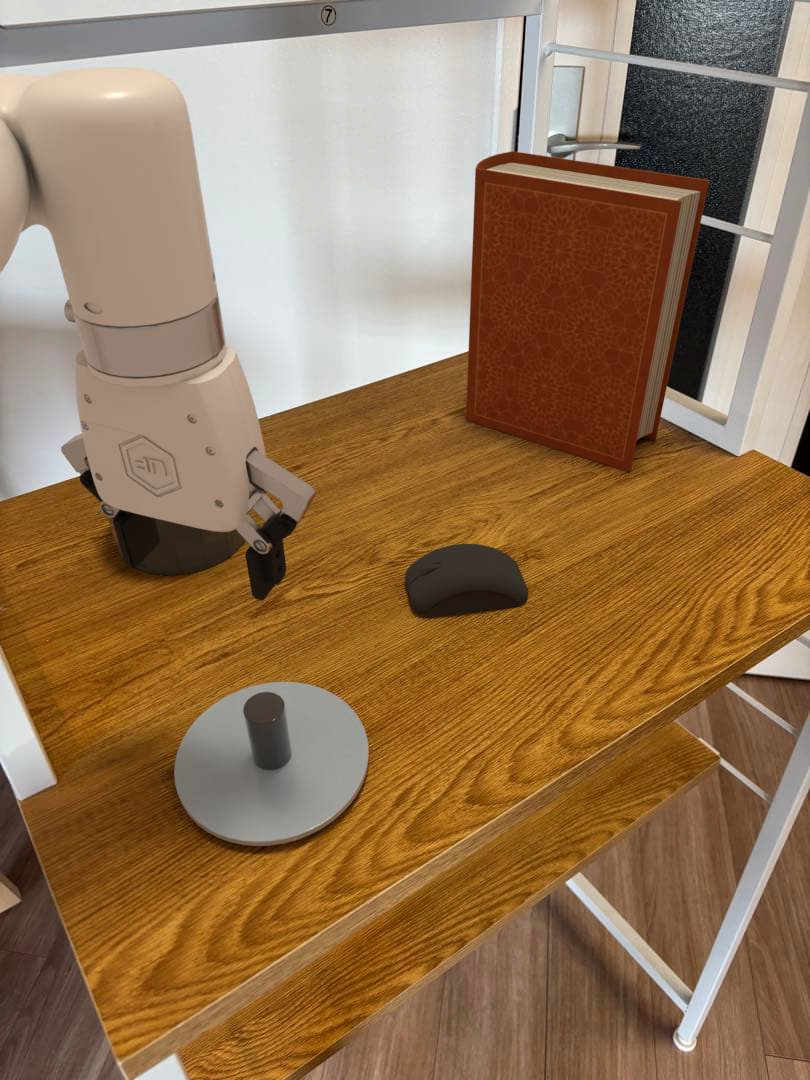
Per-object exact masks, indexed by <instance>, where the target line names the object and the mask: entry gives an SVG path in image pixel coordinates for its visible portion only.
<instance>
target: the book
mask: <svg viewBox="0 0 810 1080" xmlns="http://www.w3.org/2000/svg"><path fill="white" fill-rule="evenodd" d="M474 170H475V171H474V197H473V198H474V200H473V203H474V204H473V226H472V246H471V247H472V250H471V251H472V252H471V273H470V274H471V275H470V276H471V277H470V302H469V304H470V306H469V328H468V329H469V330H468V354H467V377H466V378H467V380H466V402H465V403H466V407H465V421H467V422H470V423H473V424H476V425H480V426H483V427H486V428H489V429H491V430H495V431H499V432H500V433H501V432H502V433H505V434H508V435H512V436H514V437H518V438H520V439H523V440H526V441H530V442H533V443H537V444H539V445H542V446H546V447H550V448H553V449H555V450H559V451H561V452H565V453H568V454H571V455H575V456H578V457H581V458H584V459H587V460H590V461H592V462H593V461H594V462H596V463H600V464H603V465H606V466H609V467H612V468H616V469H619V470H622V471H624V472H628V473H631V472H632V467H633V463H634V457H635V452H636V446H637V441H638V440H640V439H641V438H643V439H646V440H649V441H653V442H656V440H657V437H658V431H659V426H660V422H661V416H662V412H663V407H664V403H665V398H666V392H667V387H668V384H669V378H670V373H671V368H672V363H673V358H674V354H675V349H676V344H677V339H678V334H679V329H680V324H681V319H682V315H683V310H684V305H685V301H686V296H687V290H688V287H689V286H688V285H689V282H690V281H689V280H690V276H691V272H692V268H693V267H692V266H693V261H694V257H695V252H696V247H697V242H698V238H699V232H700V227H701V223H702V219H703V212H704V209H705V203H706V200H707V199H706V198H707V194H708V189H709V184H710V179H704V178H697V177H692V176H691V177H690V176H683V175H677V174H671V173H663V172H657V171H649V170H643V169H637V168H630V167H623V166H616V165H610V164H604V163H603V164H602V163H595V162H588V161H582V160H577V159H568V158H562V157H555V156H548V155H541V154H536V153H535V154H533V153H528V152H521V151H513V150H512V151H505V152H501V153H497V154H494V155H490V156H488V157H486V158H484V159H481V160H480V161H479V162H478V163H477V164H476V166H475V169H474Z"/></svg>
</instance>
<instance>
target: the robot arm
mask: <svg viewBox="0 0 810 1080" xmlns="http://www.w3.org/2000/svg"><path fill="white" fill-rule="evenodd" d="M200 179H201V178H200V173H199V167H198V160H197V154H196V148H195V141H194V135H193V130H192V123H191V118H190V113H189V109H188V105H187V102H186V99H185V97H184V95H183V92H182V91H181V89H180V88H179V87H178V86H177V84H176V83H175V81H173V79H171V78H169V77H168V76H167V75H165V74H163V73H161V72H157V71H154V70H151V69H147V68H139V67H124V66H122V67H121V66H107V67H106V66H105V67H90V68H80V69H74V70H73V69H72V70H66V71H62V72H57V73H52V74H49V75H45V76H43V75H42V76H41V75H26V74H25V75H24V74H9V73H0V274H1V273H2V272H3V271H4V270H5V267H6V266H7V265H8V263H9V261H10V259H11V257H12V255H13V253H14V251H15V248H16V247H17V245H18V241H19V239H20V236H21V234H22V233H23V232H25V231H27V229H29V228H30V227H32V226H36V225H39V226H42V227H44V228H46V229H47V230H48V231H49V233H50V235H51V238H52V241H53V245H54V247H55V252H56V255H57V259H58V262H59V266H60V270H61V273H62V277H63V281H64V284H65V288H66V292H67V295H68V298H69V299H68V300H66V301H65V304H64V307H63V312H64V314H63V315H64V316H65V318H66V320H67V321H68V322H70V323H73V324H75V325H76V328H77V332H78V335H79V339H80V343H81V346H82V350H80V351H79V352H78V353H77V354H76V356H75V367H74V368H75V372H74V376H75V378H74V379H75V394H76V404H77V412H78V417H79V424H80V429H81V433H80V434H76V435H75V436H73V437H72V438H71V439H69V440H68V441H67V442H65V443H64V444H63V445H62V446H61V447H60V451H61V453H62V455H63V456H64V458H65V459H66V460H67V462H68V463H69V464H70V466H71V467H72V468H73V470H74V471H75V472H76V474H77V473H79V475H80V476H79V481H80V483H81V485H82V486H83V487H84V488H85V489H86V490H87V491H88V492H90V493H91V495H93V496H94V497H95V498H96V499H97V500H98V501H99V502H100V503H99V510H100V511H101V513H102V514H103V515H104V516H105V517H107V518H108V517H109V518H113V524H114V528H115V531H116V534H117V538H118V541H119V545H120V548H121V551H122V555H123V558H124V559H123V558H122V559H123V561H124V565H125V566H126V567H130V568H134V567H136V566H138V565H139V564H140V563H141V562H142V561H143V560H144V559H145V558H146V557H147V556H148V555H149V554H150V553H151V552H152V551H153V550H154V548H155V547H156V546H157V545H158V544H159V542H160V538H159V534H158V530H157V526H156V522H155V518H156V519H160V520H165V521H169V522H173V523H178V524H182V525H186V526H191V527H195V528H200V529H204V530H209V531H215V532H229V531H232V530H235V529H236V530H237V531H238V532H239V533H240V535H241V536H242V537H243V538H244V539H245V541H246V543H248V545H249V547H248V548H247V550H246V551H245V562H246V568H247V575H248V578H249V584H250V590H251V596H252V597H253V598H254V599H255V600H259V601H262V602H263V601H265V599H266V598H267V596H268V595H269V594H270V593H271V591H272V590H273V589H274V587H275V586H276V585H280V583H282V581H283V580H284V578H285V576H286V574H287V573H286V572H287V562H286V561H287V560H286V554H285V553H286V552H285V547H284V539H286V538H287V537H289V536H290V535H291V534H292V533H293V532H294V530H295V529H296V528H297V527H298V525H299V524H300V523H301V522H302V520H303V519H304V518H305V515H306V513H307V511H308V510H309V508H310V506H311V504H312V503H313V500H314V499H315V497H316V489H315V488H314V486H312V485H310V484H309V483H308V482H306V481H305V480H303V479H301V478H300V477H298V475H295V474H293V473H292V472H291V471H289V470H288V469H286V468H284V467H283V466H282V465H280V464H278V463H277V462H275V461H274V460H272V459H271V458H269V457H267V454H266V449H265V443H264V439H263V435H262V429H261V426H260V425H261V424H260V421H259V417H258V413H257V409H256V405H255V402H254V398H253V395H252V392H251V388H250V386H249V383H248V380H247V376H246V374H245V371H244V369H243V367H242V363H241V361H240V358H239V356H238V354H237V351H236V349H234V348H231V347H229V346H227V339H226V334H225V329H224V328H225V327H224V323H223V316H222V310H221V304H220V303H221V302H220V297H219V292H218V286H217V281H216V279H217V278H216V274H215V267H214V259H213V254H212V248H211V242H210V236H209V230H208V224H207V217H206V212H205V206H204V205H205V204H204V199H203V193H202V187H201V180H200ZM267 493H268V494H270V495H272V497H275V498H276V499H278V500H279V501H280V503H281V505H282V508H281V510H280V508H279V507H278V506H277V505H276V503H274V501H272V499H271V498H270V497H269V496H268V495H267ZM251 510H254V512H255V513H256V514H257V515H258V516H259V517H260V518H261V520H262V521H263V522H264V523H263V524H262V526H260V525H259V524H258V523H257V522H256V521H255V519H253V517H252V516H251V515H250V514H249V513H250V512H251Z"/></svg>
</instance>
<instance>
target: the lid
mask: <svg viewBox="0 0 810 1080" xmlns="http://www.w3.org/2000/svg"><path fill="white" fill-rule="evenodd" d="M369 751H370V746H369V740H368V735H367V733H366V728H365V726H364V725H363V723H362V720H361V719H360V718H359V716H358V714H357V713H356V711H354V709H353V708H352V707H351V706H350V705H349V704H348V703H347V702H346V701H344V699H342V698H341V697H339V696H338V695H336V694H335V693H333V692H331V691H329V690H326V689H324V688H322V687H319V686H316V685H312V684H309V683H303V682H299V681H298V682H295V681H272V682H263V683H259V684H255V685H250V686H248V687H245V688H242V689H239V690H237V691H235V692H232V693H230V694H228V695H227V696H225V697H223V698H220V699H219V700H218V701H216V702H215V703H214V704H211V706H209V707H208V708H207V709H206V710H205V711H203V712H202V713H201V714H200V715H199V716H198V717H197V719H195V721H193V723H192V724H191V725H190V727H189V728H188V730H187V731H186V733H185V734H184V736H183V738H182V740H181V742H180V744H179V747H178V749H177V752H176V756H175V761H174V768H173V770H174V771H173V777H174V785H175V788H176V793H177V796H178V799H179V801H180V803H181V805H182V808H183V809H184V811H185V812H186V813H187V815H188V816H189V818H190V819H191V820H192V821H193V822H194V823H195V824H196V825H197V826H199V827H200V828H201V829H202V830H204V831H205V832H207V833H209V835H212V836H214V837H216V838H218V839H221V840H223V841H226V842H228V843H233V844H238V845H241V846H252V847H266V846H277V845H284V844H287V843H291V842H294V841H298V840H301V839H303V838H306V837H308V836H310V835H313V834H315V833H316V832H319V831H320V830H322V829H323V828H325V827H326V826H328V825H329V824H331V823H332V822H334V821H335V820H336V819H337V818H338V817H340V816H341V815H342V814H343V813H344V812H345V811H346V810H347V808H348V807H349V806H350V805H351V804H352V803H353V802H354V799H356V797H357V795H358V794H359V792H360V790H361V788H362V786H363V784H364V782H365V779H366V777H367V776H366V775H367V773H368V767H369V761H370V752H369Z"/></svg>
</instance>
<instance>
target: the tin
mask: <svg viewBox="0 0 810 1080" xmlns="http://www.w3.org/2000/svg"><path fill="white" fill-rule="evenodd" d="M107 520H108V523H109V526H110V530H111V534H112V536H113V540H114V543H115V547H116V550H117V553H118V554H119V555H120V557H121V559H122V560H124V558H123V555H122V551H121V548H120V545H119V541H118V538H117V534H116V531H115V528H114V524H113V518H109V517H107ZM155 522H156V526H157V530H158V534H159V538H160V542H159V544H158V545H157V546H156V547H155V548H154V550H153V551H152V552H151V553H150V554H149V555H148V556H147V557H146V558H145V559H144V560H143V561H142V562H141V563H140V564H139V565H138V566H136V567H133V569H136V570H137V571H141V572H144V573H147V574H152V575H158V576H179V575H187V574H193V573H197V572H201V571H203V570H207V569H208V568H212V567H214V566H217V565H218V564H220V563H222V562H224V561H226V560H227V559H229V558H230V557H231V556H233V555H235V553H236V552H237V551H238V550H239V549H240V548H241V547H242V546H243V544H244V543H245V541H246V540H245V539H244V538H243V537H242V536H241V535H240V533H239V532H238V531H237V530H236V529H235V530H232V531H229V532H215V531H209V530H204V529H200V528H195V527H191V526H186V525H182V524H178V523H173V522H169V521H165V520H160V519H156V518H155Z"/></svg>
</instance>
